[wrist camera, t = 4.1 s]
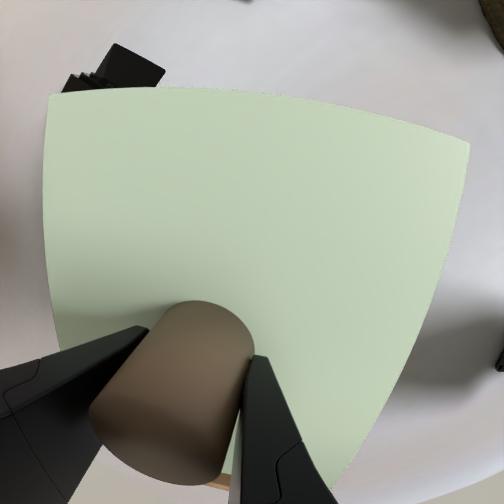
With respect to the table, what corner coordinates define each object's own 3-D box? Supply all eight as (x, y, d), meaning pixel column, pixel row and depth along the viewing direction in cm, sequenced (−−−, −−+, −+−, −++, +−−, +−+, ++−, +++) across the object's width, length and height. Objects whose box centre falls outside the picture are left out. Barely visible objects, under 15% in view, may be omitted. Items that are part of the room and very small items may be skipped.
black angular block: (101, 202, 23) (64, 214, 18) (48, 154, 22) (10, 159, 18) (188, 60, 18) (160, 41, 14) (121, 24, 18) (87, 6, 14)
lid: (451, 143, 7) (579, 150, 2) (331, 468, 12) (328, 563, 7) (72, 97, 9) (-53, 90, 4) (92, 407, 13) (39, 477, 8)
